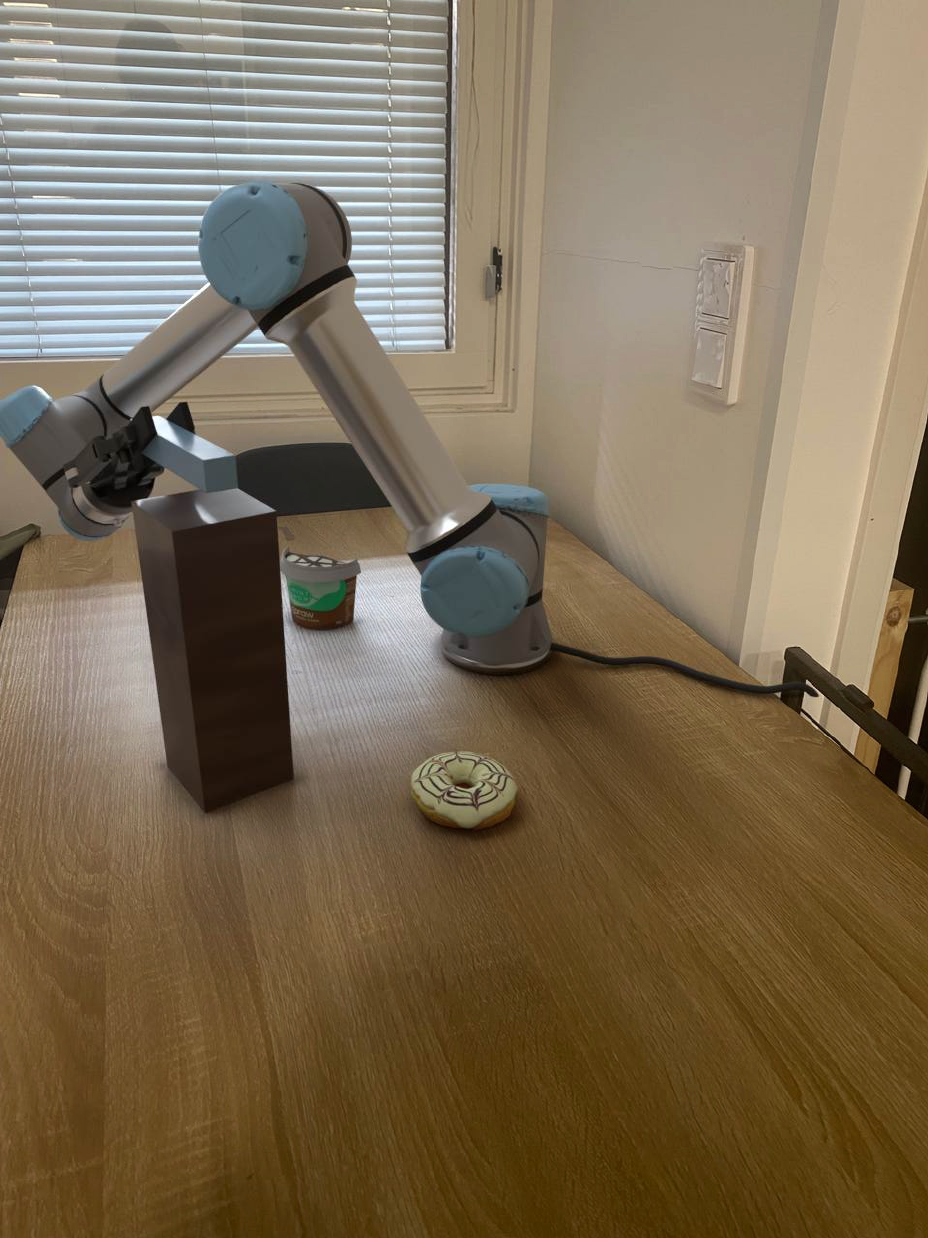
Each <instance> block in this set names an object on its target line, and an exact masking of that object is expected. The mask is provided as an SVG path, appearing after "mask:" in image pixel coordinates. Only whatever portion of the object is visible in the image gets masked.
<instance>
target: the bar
mask: <svg viewBox="0 0 928 1238" xmlns="http://www.w3.org/2000/svg"><path fill="white" fill-rule="evenodd" d="M152 418H153V421H154V424H155V427H156V431H157V435H156V436H155V437H154V438H153V439H152V441H151V442H150V443H149V444H148V445H147V447H146V448H145V449H144V450H143V451H142V454H144V455H145V456H147V457H149V458H150V459H152V460H153V461H155V462H157V463H158V464H160V465H161V466H163V467H165V468H164V469H166V470H168V471H169V472H171V473H173V474H174V475H176V476H178V477H179V478H181V479H183V480H184V481H185V482H187V483H189V484H190V485H192V486H194V487H195V488H197V489H198V490H202V491H203V492H205V493H212V492H218V491H224V490H229V489H235V488H237V489H239V484H238V482H239V481H238V471H237V460H236V459H237V458H236V455H235V454H233V453H231V452H230V451H228V450H227V449H224V448H222V447H220V446H218V445H216V444H214V443H212V442H210V441H208V440H207V439H204V438H203V437H201V436H199V435H197V434H196V435H195V434H193V433H191V432H189V431H187V430H185V429H183V428H181V427H180V426H178V425H176V424H174V423H172V422H170V421H168V420H166V418H165V417H162V416H161V415H154V416H153V415H152ZM131 420H132V419H130V422H131Z"/></svg>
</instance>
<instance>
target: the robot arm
mask: <svg viewBox="0 0 928 1238" xmlns="http://www.w3.org/2000/svg"><path fill="white" fill-rule="evenodd" d="M197 249H198V250H197V251H198V258H199V262H200V265H201V268H202V272H203V274H204V276H205V279H206V280H207V282H208V283H207V284H205V285H204V286H203V287H202V288H201V289H200V290H199V291H198V292H196V293H195V294H194V295H193V296H191V297H190V298H189V299H188V300H187V301H186V302H184V303H183V304H182V305H181V306H180V307H178V308H177V310H175V311H174V312H173V313H172V314H171V315H170V316H168V317H167V318H166V319H165V320H164V321H162V322H161V323H160V324H159V325H158V326H157V327H156V328H154V329H153V330H152V331H151V332H150V333H148V334H147V335H146V336H145V337H144V338H143V339H141V341H139V342H138V343H137V344H136V345H135V346H134V347H132V348H131V349H130V350H129V351H127V353H125V354H124V355H123V356H122V357H120V358H119V360H118V361H116V362H115V363H114V364H113V365H112V366H110V367H109V368H108V369H107V370H105V372H104V373H103V374H102V375H101V376H98V378H97V379H95V380H94V381H93V382H92V383H91V384H90V385H89V386H88V387H86V388H85V389H83V390H81V391H79V392H76V393H73V394H70V395H67V396H64V397H61V398H57V399H54V400H53V396H51V395H49V394H48V393H47V392H46V391H45V390H44V389H43V388H41V387H40V386H37V385H28V386H25V387H23V388H20V389H18V390H16V391H14V392H12V393H11V394H10V395H8V396H7V397H5V398H4V399H3V400H1V401H0V438H1V440H2V441H3V442H4V445H5V447H6V448H7V449H9V450H10V452H12V453H13V454H14V456H15V457H16V458H17V459H18V460H19V462H20V463H21V464H22V465H23V467H24V468H25V469H26V470H27V471H28V472H29V473H30V475H31V476H32V477H33V478H34V479H35V481H36V482H37V483H38V484H39V485H40V487H41V488H42V489H43V490H44V492H45V494H47V497H48V498H50V500H51V501H52V502H53V503H54V505H55V506H56V507H57V515H58V516H57V517H58V519H59V523H60V524H61V526H62V528H63V529H64V530H65V532H67V534H69V535H70V536H72V537H73V538H75V539H77V540H81V541H86V542H97V541H101V540H104V539H106V538H108V537H109V536H111V535H112V534H114V533H115V532H117V531H118V530H119V529H121V528H122V526H123V525H124V523H125V522H126V521H127V519H129V518H130V517H131V516H132V515H133V510H132V503H131V501H136V500H142V499H147V498H150V496H151V495H152V493H153V490H154V487H155V482H156V478H157V477H160V476H161V475H163V474H164V473H165V469H166V468H165V467H163V466H161V465H160V464H158V463H157V462H155V461H153V460H152V459H150V458H149V457H147V456H145V455H144V454H142V451H143V450H144V449H145V448H146V447H147V445H148V444H149V443H150V442H151V441H152V439H153V438H154V437H155V436H156V435H157V431H156V427H155V424H154V421H153V418H152V416H153V414H152V413H154V412H155V411H156V410H158V409H159V408H160V407H161V406H162V405H164V404H165V403H167V401H168V400H170V399H171V398H172V397H174V396H175V395H177V393H178V392H180V391H181V390H182V389H183V388H185V387H186V386H187V385H189V384H190V383H191V382H192V381H194V380H195V379H196V378H197V377H199V376H200V375H201V374H202V373H204V372H205V371H206V370H207V369H208V368H210V367H211V366H213V364H215V363H216V362H218V361H219V360H220V359H221V358H223V357H224V356H225V355H226V354H227V353H229V352H230V351H232V349H234V348H235V347H237V345H239V344H240V343H241V342H242V341H244V340H245V339H246V338H247V337H248V336H250V335H251V334H252V333H254V331H256V330H257V329H259V330H260V331H261V333H262V334H263V336H264V338H265V339H266V340H268V341H272V342H276V343H280V344H283V345H285V346H286V347H288V348H289V350H290V351H291V353H292V354H293V356H294V358H295V359H296V361H297V362H298V363H299V366H300V367H301V368H302V370H303V372H304V373H305V374H306V376H307V378H308V379H309V381H310V383H311V384H312V385H313V387H314V389H315V390H316V391H317V394H318V395H319V396H320V398H321V399H322V401H323V402H324V404H325V405H326V407H327V408H328V410H329V412H330V413H331V414H332V417H333V418H334V419H335V421H336V423H337V424H338V425H339V427H340V429H341V430H342V431H343V433H344V435H345V437H346V438H347V440H348V441H349V442H350V444H351V445H352V447H353V449H354V450H355V452H356V453H357V455H358V456H359V458H360V460H361V461H362V463H363V464H364V466H365V468H366V469H367V470H368V472H369V474H370V475H371V477H372V479H374V481H375V483H376V485H377V486H378V487H379V489H380V490H381V492H382V493H383V495H384V496H385V498H386V500H387V501H388V503H389V505H390V506H391V507H392V509H393V510H394V512H395V513H396V515H397V517H398V518H399V519H400V521H401V523H402V524H403V526H404V527H405V529H406V539H405V542H404V548H403V549H404V551H405V553H406V554H407V557H408V558H409V559H410V561H411V563H412V564H413V565H414V567H415V568H416V570H417V571H418V573H419V575H421V578H420V587H419V588H420V590H419V591H420V598H421V603H422V605H423V607H424V610H425V612H426V613H427V614H428V616H429V618H430V619H431V620H432V621H433V622H434V623H435V624H436V625H438V626H439V627H440V628H442V633H441V637H440V638H441V640H440V641H441V642H440V648H441V653H442V654H443V656H444V657H445V658H446V660H447V661H449V662H450V663H452V664H453V665H455V666H457V667H459V668H462V669H465V670H466V671H469V672H470V671H471V672H473V673H478V674H485V675H497V676H501V675H502V676H503V675H504V676H506V675H516V674H517V675H518V674H523V673H527V672H530V671H534V670H536V669H538V668H540V667H541V666H544V665H545V664H546V663H547V662H548V661H549V660H550V659H551V657H552V653H553V652H557V653H562V654H566V655H569V656H573V657H577V658H581V659H584V660H587V661H590V662H593V663H596V664H601V665H607V666H630V665H631V666H632V665H645V664H646V665H657V666H663V667H664V668H665V667H666V668H669V669H672V670H675V671H678V672H680V673H683V674H685V675H687V676H690V677H692V678H694V679H697V680H700V681H703V682H707V683H710V684H714V685H717V686H720V687H724V688H728V689H732V690H735V691H740V692H745V693H752V694H757V695H772V694H773V695H774V694H778V693H784V692H789V691H797V690H798V691H802V692H805V693H806V694H807V695H808V696H809V697H810V698H811V697H812V698H819V697H820V695H819V693H818V692H817V690H816V689H814V688H813V687H812V686H811V685H809V684H807V683H805V682H801V681H789V682H785V683H779V684H774V685H757V684H751V683H745V682H739V681H737V680H736V681H735V680H731V679H727V678H724V677H721V676H717V675H713V674H710V673H706V672H703V671H700V670H697V669H695V668H692V667H690V666H687V665H684V664H683V663H680V662H677V661H674V660H671V659H667V658H663V657H659V656H658V657H657V656H649V655H647V656H646V655H641V656H627V657H609V656H603V655H598V654H595V653H591V652H588V651H586V650H582V649H578V648H575V647H572V646H568V645H564V644H559V643H555V642H553V635H552V631H551V628H550V623H549V620H548V617H547V613H546V609H545V606H544V602H543V591H544V577H545V565H546V550H547V549H546V547H547V533H548V532H547V531H548V519H549V518H550V512H549V499H548V497H547V495H546V493H544V492H543V491H541V490H539V489H536V488H533V487H529V486H525V485H524V486H523V485H517V484H508V483H478V484H477V483H475V484H470V485H468V483H467V482H466V479H465V478H464V477H463V475H462V474H461V472H460V471H459V468H458V467H457V465H456V464H455V462H454V461H453V459H452V457H451V456H450V455H449V453H448V451H447V449H446V448H445V446H444V444H443V442H441V440H440V438H439V437H438V434H437V433H436V432H435V430H434V428H433V427H432V426H431V423H430V422H429V420H428V419H427V417H426V416H425V414H424V412H423V411H422V409H421V408H420V406H419V404H418V402H417V401H416V400H415V398H414V396H413V394H412V393H411V391H410V389H409V388H408V387H407V385H406V383H405V382H404V380H403V378H402V377H401V375H400V374H399V372H398V371H397V369H396V367H395V365H394V363H392V360H391V359H390V357H389V356H388V354H387V353H386V351H385V349H384V348H383V346H382V344H381V343H380V341H379V340H378V338H377V336H376V335H375V334H374V332H373V330H372V329H371V327H370V326H369V324H368V322H367V320H366V319H365V317H364V316H363V314H362V312H361V311H360V309H359V307H358V306H357V304H356V303H355V293H356V289H357V283H358V279H357V276H356V275H355V273H354V272H353V270H352V269H351V267H350V265H349V262H350V260H351V255H352V249H353V238H352V230H351V226H350V224H349V220H348V218H347V216H346V214H345V212H344V210H343V209H342V208H341V206H340V205H339V203H338V201H336V200H335V199H334V198H333V197H332V196H331V195H330V194H328V193H327V192H325V191H324V190H323V189H320V188H318V187H317V186H315V185H311V184H308V183H300V182H290V183H275V182H271V181H267V180H251V181H248V182H244V183H240V184H236V185H233V186H231V187H229V188H227V189H225V190H223V191H222V192H220V193H219V194H218V195H217V196H216V197H215V198H214V199H213V200H212V201H211V202H210V204H209V205H208V207H207V208H206V210H205V212H204V214H203V216H202V219H201V221H200V225H199V233H198V240H197ZM130 419H132V420H131V422H130ZM165 419H166V420H168V421H170V422H172V423H174V424H176V425H178V426H180V427H181V428H183V429H185V430H187V431H189V432H191V433H193V434H195V435H197V433H196V426H195V424H194V420H193V416H192V413H191V410H190V407H189V403H188V401H180V402H178V404H177V405H176V406H175V407H174V409H172V411H171V412H170V413H169V415H167V417H166V418H165Z"/></svg>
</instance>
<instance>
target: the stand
mask: <svg viewBox="0 0 928 1238" xmlns="http://www.w3.org/2000/svg"><path fill="white" fill-rule="evenodd" d="M131 503H132V510H133V513H132V516H133V524H134V530H135V538H136V546H137V553H138V560H139V567H140V574H141V582H142V589H143V597H144V604H145V605H144V606H145V613H146V620H147V627H148V634H149V642H150V650H151V655H152V662H153V663H152V665H153V670H154V671H153V672H154V679H155V685H156V693H157V700H158V708H159V714H160V723H161V729H162V737H163V744H164V751H165V759H166V765H167V768H168V769H169V770H170V771H171V773H172V774H173V775H174V776H175V778H176V779H177V780H178V782H180V784H181V785H182V786H183V787H184V789H185V790H186V791H187V792H188V793H189V795H190V796H191V797H192V799H193V800H194V801H195V802H196V804H197V805H198V806H199V807H200V809H201V810H202V811H203V812H204V813H208V812H211V811H213V810H216V809H219V808H221V807H224V806H227V805H229V804H231V803H234V802H237V801H241V800H242V799H245V798H247V797H250V796H253V795H256V794H258V793H261V792H263V791H266V790H268V789H271V788H274V787H276V786H279V785H281V784H285V783H287V782H290V781H292V780H294V779H295V776H294V775H295V774H294V760H293V743H292V729H291V728H292V727H291V714H290V713H291V711H290V699H289V684H288V682H289V681H288V667H287V651H286V637H285V635H286V634H285V621H284V607H283V591H282V575H281V574H282V572H281V571H280V560H281V556H280V544H279V542H280V541H279V529H278V516H277V515H278V513H277V510H275V509H274V508H272V507H270V506H268V505H267V504H266V503H263V502H261V500H258V499H257V498H255V497H253V496H251V495H249V494H248V493H246V492H245V491H242V490H241V489H239V488H235V489H229V490H224V491H218V492H212V493H205V492H203V491H202V490H200V489H195V490H190V491H183V492H178V493H172V494H165V495H160V496H154V497H148V498H147V499H142V500H136V501H131Z"/></svg>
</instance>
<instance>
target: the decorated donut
mask: <svg viewBox="0 0 928 1238" xmlns="http://www.w3.org/2000/svg"><path fill="white" fill-rule="evenodd" d="M410 784H411V785H410V794H411V797H412V799H413V800H414V803H415V804H416V805H417V808H418V809H419V811H420V812H421V813H422V814H423V816H425V817H426V818H428V819H429V820H431V821H432V822H433V823H436V824H437V825H440V826H444V827H449V828H452V829H455V828H456V829H457V828H459V829H472V830H474V831H479V830H481V829H483V828H484V829H486V828H490V827H492V826H494V825H496V824H498V823H501V822H504V821H505V820H506V819H508V818H509V817H510V815H511V812H512V810H513V808H514V806H515V803H516V801H515V799H516V794H517V792H518V791H519V788H518V786H517V783H516V780H515V778H514V776H513V775H512V773H511V772H510V771H509V770H508V769H507V767H506V766H505V765H503V764H501V763H500V762H499V761H497V760H496V759H494V758H492V757H491V756H487V755H484V754H479V753H476V752H473V751H458V750H457V751H449V752H442V753H440V754H437V755H433V756H432V757H429V758H428V759H426V760H424V762H423V763H421V764H420V765H419V766H418V767H416V769H415V770H414V771H413V773H412V775H411V781H410Z"/></svg>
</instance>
